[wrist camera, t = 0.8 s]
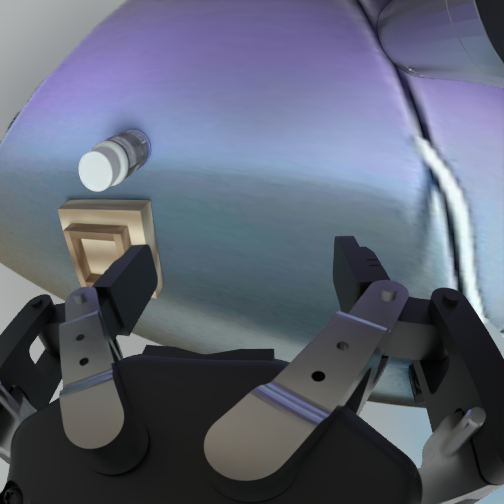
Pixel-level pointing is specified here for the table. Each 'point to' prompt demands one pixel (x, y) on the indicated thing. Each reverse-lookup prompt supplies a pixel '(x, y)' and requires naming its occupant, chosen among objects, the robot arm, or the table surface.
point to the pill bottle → (114, 160)
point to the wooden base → (106, 234)
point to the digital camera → (415, 385)
